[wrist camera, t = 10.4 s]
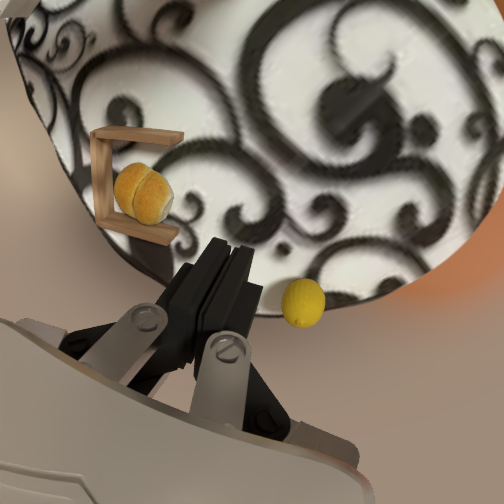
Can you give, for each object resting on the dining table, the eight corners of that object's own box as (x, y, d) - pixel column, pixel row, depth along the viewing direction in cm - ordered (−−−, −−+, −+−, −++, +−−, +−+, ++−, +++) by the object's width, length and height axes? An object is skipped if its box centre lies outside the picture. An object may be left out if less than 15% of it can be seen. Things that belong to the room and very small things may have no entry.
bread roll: (130, 152, 37) (112, 160, 34) (182, 182, 38) (167, 192, 34) (116, 200, 42) (100, 210, 38) (163, 229, 42) (149, 242, 39)
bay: (106, 125, 35) (90, 130, 32) (184, 132, 34) (170, 137, 31) (110, 215, 43) (96, 225, 40) (178, 233, 42) (167, 246, 39)
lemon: (334, 283, 40) (332, 324, 33) (307, 305, 43) (301, 346, 36) (304, 259, 39) (297, 298, 32) (278, 283, 42) (267, 322, 35)
